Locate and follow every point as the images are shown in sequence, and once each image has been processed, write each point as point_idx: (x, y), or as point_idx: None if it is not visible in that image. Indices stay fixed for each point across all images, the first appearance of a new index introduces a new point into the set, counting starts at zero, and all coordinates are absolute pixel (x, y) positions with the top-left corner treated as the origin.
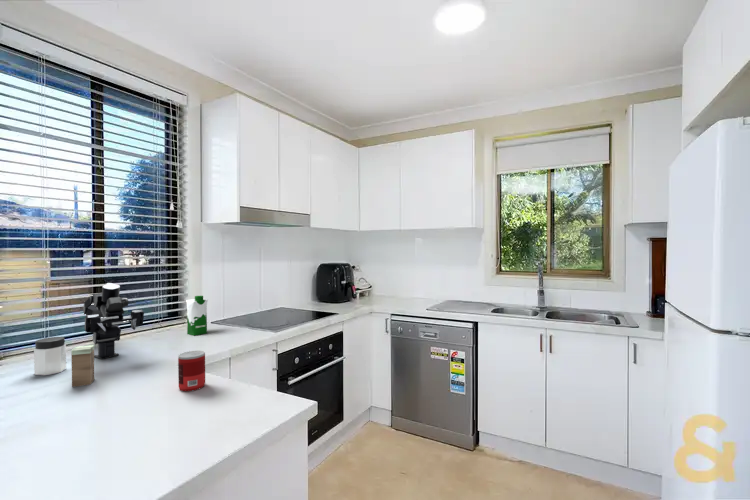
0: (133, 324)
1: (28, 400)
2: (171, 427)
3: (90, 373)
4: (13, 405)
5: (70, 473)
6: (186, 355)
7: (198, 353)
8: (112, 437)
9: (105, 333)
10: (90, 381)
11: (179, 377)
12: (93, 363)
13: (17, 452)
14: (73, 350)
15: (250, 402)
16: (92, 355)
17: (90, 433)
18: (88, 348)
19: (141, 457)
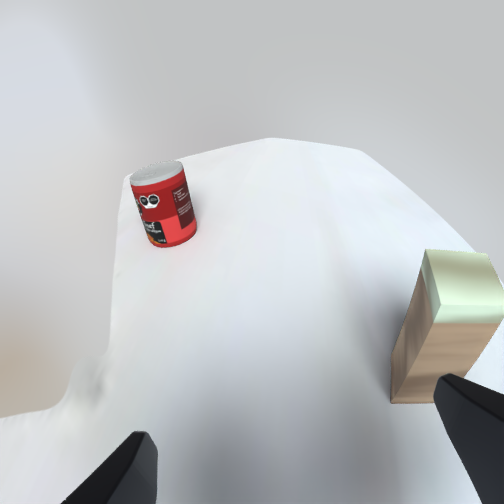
0: (122, 471)
1: None
2: (247, 168)
3: (400, 331)
4: None
5: (326, 151)
6: (164, 172)
7: (143, 174)
8: (302, 169)
9: (437, 391)
10: (393, 349)
11: (191, 205)
12: (411, 355)
13: (385, 175)
14: (480, 253)
15: None
16: (421, 313)
17: (326, 177)
18: (435, 255)
19: (279, 151)
